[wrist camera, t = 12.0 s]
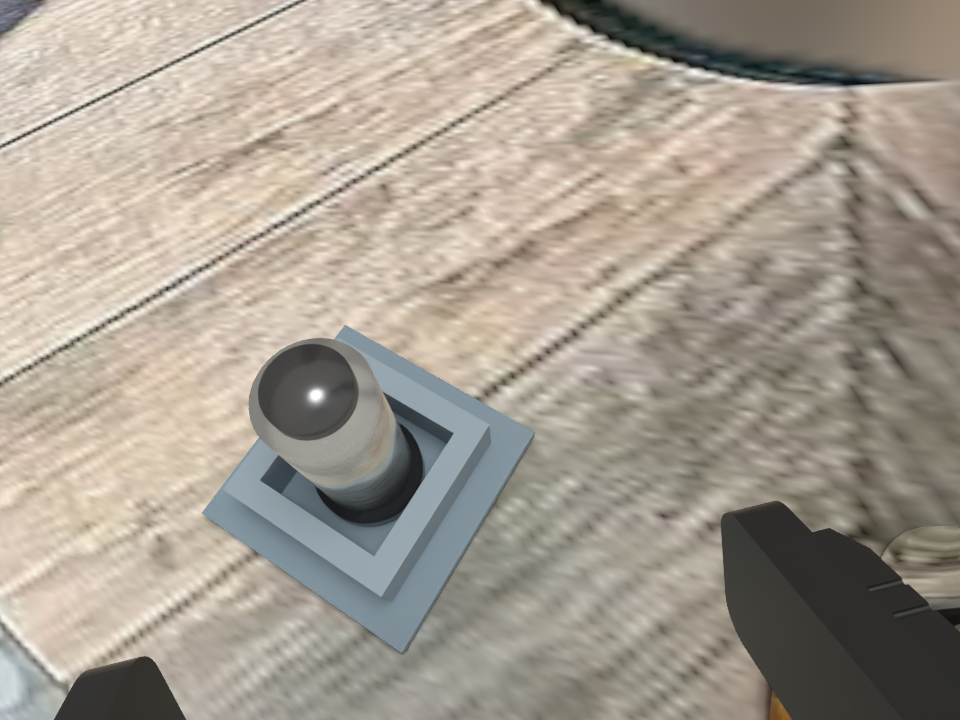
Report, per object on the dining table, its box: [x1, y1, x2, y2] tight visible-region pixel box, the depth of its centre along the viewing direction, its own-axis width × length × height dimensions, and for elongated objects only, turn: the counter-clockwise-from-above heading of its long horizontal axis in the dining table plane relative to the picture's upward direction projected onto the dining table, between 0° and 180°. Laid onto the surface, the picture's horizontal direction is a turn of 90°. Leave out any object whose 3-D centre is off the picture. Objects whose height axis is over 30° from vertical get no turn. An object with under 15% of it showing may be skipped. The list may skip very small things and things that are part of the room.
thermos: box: [249, 338, 425, 527], centre depth 27 cm, size 5×5×12 cm
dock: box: [202, 325, 534, 653], centre depth 31 cm, size 12×12×4 cm
